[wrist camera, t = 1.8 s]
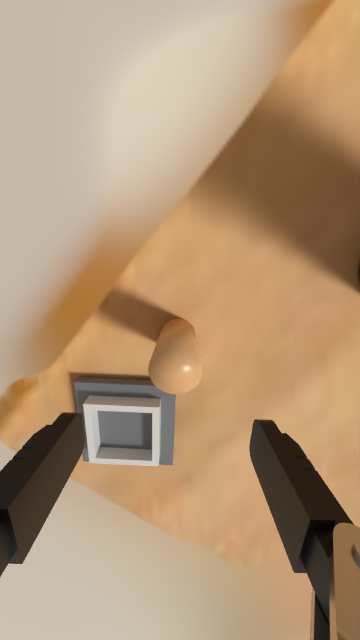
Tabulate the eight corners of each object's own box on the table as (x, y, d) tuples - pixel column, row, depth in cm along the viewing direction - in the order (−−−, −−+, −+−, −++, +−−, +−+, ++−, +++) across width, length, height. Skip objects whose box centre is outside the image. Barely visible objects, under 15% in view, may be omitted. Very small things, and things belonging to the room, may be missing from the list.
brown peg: (196, 319, 21) (204, 346, 13) (194, 351, 22) (200, 395, 14) (160, 317, 21) (148, 344, 13) (160, 350, 22) (148, 393, 14)
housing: (176, 381, 23) (175, 395, 20) (173, 456, 26) (171, 477, 23) (79, 376, 23) (66, 390, 20) (87, 452, 26) (77, 472, 23)
